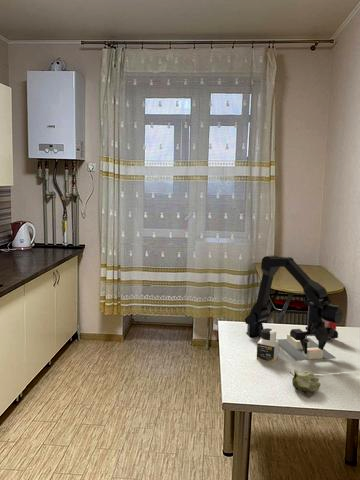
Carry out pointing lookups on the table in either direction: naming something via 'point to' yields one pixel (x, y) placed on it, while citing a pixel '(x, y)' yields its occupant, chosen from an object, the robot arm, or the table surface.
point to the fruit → (305, 382)
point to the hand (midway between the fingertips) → (312, 353)
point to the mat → (301, 350)
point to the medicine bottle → (267, 345)
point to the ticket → (296, 342)
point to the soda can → (330, 324)
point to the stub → (313, 353)
